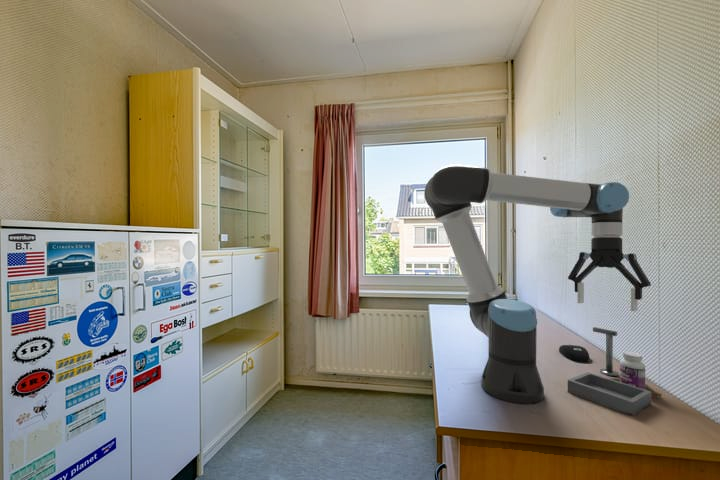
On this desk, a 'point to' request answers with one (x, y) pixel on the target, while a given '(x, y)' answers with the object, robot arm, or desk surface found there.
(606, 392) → the tray
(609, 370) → the t stake
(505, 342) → the robot arm
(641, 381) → the pill bottle
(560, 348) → the computer mouse
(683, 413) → the desk surface
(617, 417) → the desk surface
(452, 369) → the desk surface
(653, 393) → the collar
